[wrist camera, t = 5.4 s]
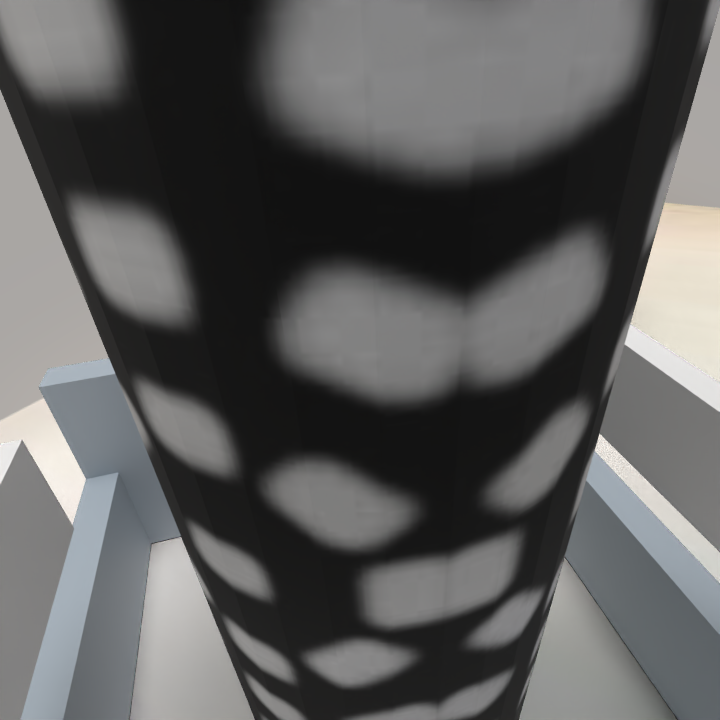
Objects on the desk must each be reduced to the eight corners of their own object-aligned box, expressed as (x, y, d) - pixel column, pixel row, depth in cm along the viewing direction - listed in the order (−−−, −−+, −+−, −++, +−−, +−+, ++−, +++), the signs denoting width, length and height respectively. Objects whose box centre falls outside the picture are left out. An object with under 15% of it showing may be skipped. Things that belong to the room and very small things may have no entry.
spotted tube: (543, 637, 18) (762, -130, 7) (453, 942, 12) (988, -1070, 1) (349, 541, 22) (285, -46, 11) (209, 735, 16) (-256, -119, 5)
